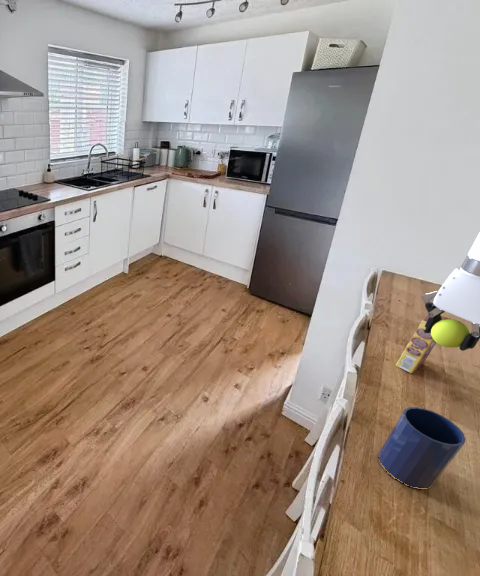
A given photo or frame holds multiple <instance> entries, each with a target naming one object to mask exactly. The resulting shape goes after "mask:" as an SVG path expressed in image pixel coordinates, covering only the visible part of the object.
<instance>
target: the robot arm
mask: <svg viewBox="0 0 480 576" xmlns="http://www.w3.org/2000/svg"><path fill="white" fill-rule="evenodd" d="M420 297H421V299H422V301H423V304H424V306H425V309H426V312H427V316H429V319H428V321H427V322H426V324H425V327H426V329H425V331H424V332H425V333H431V329H432V327H433V325H434V324H435V323H437V322H438V321H441V319H442V317H441V314H444V313H445V312H446V313H448V314H450V315H453V316H455V317H457V318H459V319H462V320H465V321H467V322H469V323H471V331H470V334H468V335H467V336H466V338H465V339H464V341H463V343H462V344H461V346H460V347H458V348H459V350H460V351H462V352H464V351H467V350H469V349H470V350H472V349H473V348H475V347H476V345H477V344H478V343H479V341H480V231H479V232H478V234H477V236H476V238H475V240H474V242H473V244H472V245H471V248H470V249H469V251H468V253H467V255H466V257H465V259H464V261H463V263H462V264H461V265H459V266H457V267H456V268H454V270H453V271H452V272H451V273H450V274H449V275H448V277H447V278H446V279H445V281H444V282H443V284H442V285H441V286H440V288H439V290H435V291H432V292H428V293H425V294H422V295H421V296H420Z"/></svg>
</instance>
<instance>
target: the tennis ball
mask: <svg viewBox="0 0 480 576" xmlns="http://www.w3.org/2000/svg"><path fill="white" fill-rule="evenodd" d="M468 334H471V331H470V329H469V327H468V326H467V325H466V324H465V323H464V322H462V321H461V320H457V319H452V318H451V319H445V320H441V321H438V322H437V323H435V324H434V325H433V327H432V329H431V336H432V338H433V339H434V341H435V342H436V344H438V345H440V346H442V347H444V348H451V349H452V348H453V349H454V348H455V349H456V348H460V346H461V344H462V343H463V341H464V339H465V338H466V336H467V335H468Z"/></svg>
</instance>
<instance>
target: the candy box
mask: <svg viewBox="0 0 480 576" xmlns="http://www.w3.org/2000/svg"><path fill="white" fill-rule="evenodd" d="M441 317H442V319H441V320H445V319H452V317H450V316H448V315H446V314H444V313H442V314H441ZM428 319H429V316H428V315H427V316H426V317H425V318H423V319H422V320H421V321H420V323H419V325H418V326H417V328H416V330H415V332H414V333H413V335H412V336H411V338H410V340H409V342H408V343H407V345H406V347H405V348H404V350H403V352H402V353H401V355H400V357H399V359H398V361H397V362H396V363H395V367H397V368H399V369H401V370H402V371H405V372H407V373H409V374H414V372H416V370H418V369H419V367H421V366H422V365H423V364H425V362H426V360H427V359H428V356H429V355H430V354H431V352H432V350H433V348H434V347H435V346H436V344H437V342H435V341H434V339H433V338H432V336H431V333H425V332H424V331H425V329H426V327H425V324H426V322H427V321H428Z"/></svg>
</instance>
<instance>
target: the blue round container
mask: <svg viewBox="0 0 480 576" xmlns="http://www.w3.org/2000/svg"><path fill="white" fill-rule="evenodd" d="M396 421H397V422H396V423H395V424H394V427H393V428H392V430H391V431H390V433H389V435H388V436H387V438H386V440H385V442H384V443H383V445H382V447H381V448H380V450H379V451H378V454H377V457H378V456H379V460H380V462H381V463H382V465H383V466H384V467H385V469H386V470H387V471H388V472H389V473H391V474H392V475H393V476H394V477H395V478H397V479H399V480H400V481H402V482H403V483H405V484H407V485H409V486H412V487H418V488H429V487H431V486H432V487H433V486H435V484H436V482H438V480H439V479H440V477H441V476H442V474H443V473H444V472H445V471H446V469H447V468H448V467H449V465H450V464H451V462H452V461H453V459H454V458H455V457H456V456H457V454H458V453H459V452H460V450H461V449H462V447H463V446H464V445H465V443H466V436H465V434H464V432H463V431H462V430H461V428H460V427H459V426H457V425H456V424H455V423H454V422H453V421H451V420H450V419H448V418H447V417H445V416H443V415H442V414H439V413H437V412H435V411H432V410H430V409H427V408H423V407H418V406H409V407H407V408H405V409H403V411H402V413H401V415H400V416H399V418H398V420H396ZM432 487H431V488H432Z"/></svg>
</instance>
